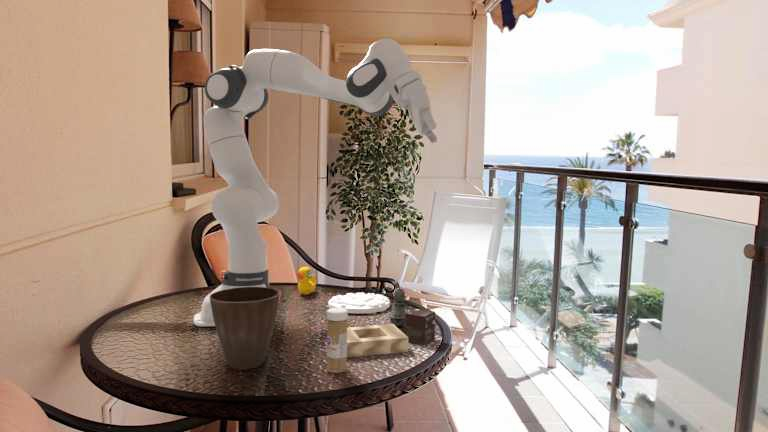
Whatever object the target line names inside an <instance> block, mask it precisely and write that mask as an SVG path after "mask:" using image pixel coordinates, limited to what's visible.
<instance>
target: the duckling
mask: <svg viewBox="0 0 768 432" xmlns="http://www.w3.org/2000/svg"><path fill="white" fill-rule="evenodd" d="M296 277H297V279H298V280H299V281H298V283H297V290H298V292H299V294H301V295H307V296H308V295H310V294H311V293H313V292H314V291H315V289H316V287H317V278H316V275H314V274H313V271H312V268H310V267H308V266H303V267H300V268H299V269H298V272H297V273H296Z"/></svg>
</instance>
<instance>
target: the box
mask: <svg viewBox="0 0 768 432" xmlns="http://www.w3.org/2000/svg"><path fill="white" fill-rule="evenodd" d="M404 334H405V335H406V336H407V337H408V343H409V342H410V343H416V344H421V345H427V344H428V343H430V342H432V341H433V340H435V338H436V335H435V334H436V311H432V310H426V309H421V308H414V309H413V310H412V309H411V310H409V311H407V312H405V331H404Z"/></svg>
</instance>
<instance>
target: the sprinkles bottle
mask: <svg viewBox="0 0 768 432" xmlns="http://www.w3.org/2000/svg"><path fill="white" fill-rule="evenodd" d="M348 314H349V313H348V311H347V309H345V308H328V309H326V320H327V321H326V322H327V336H326V367H325V368H326V371H327V372H329V373H331V374H341V373H343V372H346V371H347V370H348V365H347V358H348V357H347V327H348V326H347V325H348V318H349V316H348Z"/></svg>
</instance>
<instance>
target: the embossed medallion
mask: <svg viewBox="0 0 768 432" xmlns="http://www.w3.org/2000/svg"><path fill="white" fill-rule="evenodd" d="M327 303H328V309H330V308H345V309H347V311H348V314H358V315H359V314H361V315H362V314H367V315H372V314H375V315H376V314H377V312H379V313H382V312H385V311H386V310H387V309H389V308H390V299H389V297H387V296H385V295H384V294H380V293H379V294H378V293H376V294H375V292H372V293H371V292H368V293H366V292H364V291H363V292H356V293H354V292H347V293H345V294H344V295H342V294H337V295H335V296H332V297H331V298H330V299H329V300H328V302H327Z"/></svg>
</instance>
